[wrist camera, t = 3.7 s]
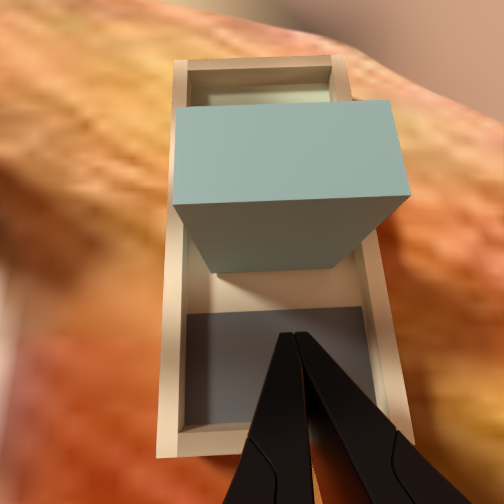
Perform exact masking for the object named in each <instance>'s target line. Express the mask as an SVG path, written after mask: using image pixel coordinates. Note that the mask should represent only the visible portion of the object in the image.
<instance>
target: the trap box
mask: <svg viewBox="0 0 504 504" xmlns="http://www.w3.org/2000/svg"><path fill="white" fill-rule="evenodd" d="M341 101H353V100H352V95H351V89H350V84H349V78H348V73H347V67H346V62H345V57H344V55H322V56H291V57H260V58H229V59H199V60H174V69H173V91H172V113H171V135H170V158H169V180H168V202H167V225H166V247H165V269H164V292H163V314H162V336H161V359H160V381H159V403H158V426H157V448H156V458H172V457H191V456H210V455H229V454H241V453H242V450H243V447H244V444H245V440H246V438H247V435H248V431H249V428H250V425H251V422H252V418H253V415H254V412H255V409H256V405H257V402H258V399H259V396H260V393H261V389H262V386H263V383H264V380H265V376H266V373H267V370H268V367H269V363H270V360H271V357H272V354H273V350H274V347H275V344H276V341H277V338H278V334H279V333H280V332H293V334H294V332H296V331H308V332H309V333H310V334H311V335H312V336H313V337H314V338H315V339H316V340H317V342H318V343H319V344H320V345H321V346H322V347H323V348H324V349H325V350H326V351H327V352H328V353H329V355H330V356H331V357H332V358H333V359H334V360H335V361H336V362H337V363H338V364H339V365H340V366H341V368H342V369H343V370H344V371H345V372H346V373H347V374H348V375H349V376H350V377H351V378H352V380H353V381H354V382H355V383H356V384H357V385H358V386H359V387H360V388H361V389H362V390H363V391H364V393H365V394H366V395H367V396H368V397H369V398H370V399H371V400H372V401H373V402H374V403H375V404H376V406H377V407H378V408H379V409H380V410H381V411H382V412H383V413H384V414H385V415H386V416H387V417H388V419H389V420H390V421H391V422H392V423H393V424H394V425H395V426H396V430H400V431H401V433H402V434H403V435H404V436H405V437H406V438H407V439H408V440H409V441H410V442H411V443H412V444H413V445H415V439H414V434H413V428H412V423H411V417H410V412H409V407H408V401H407V396H406V390H405V385H404V379H403V374H402V368H401V363H400V357H399V352H398V346H397V341H396V335H395V330H394V324H393V319H392V314H391V308H390V303H389V297H388V292H387V286H386V281H385V275H384V270H383V264H382V259H381V253H380V248H379V242H378V237H377V232H376V229H374V230H373V231H372V232H371V233H370V234H369V235H368V236H367V237H366V238H365V239H364V240H363V241H362V242H361V243H359V244H358V245H357V246H356V247H355V248H354V249H353V250H352V251H351V252H350V253H349V254H348V255H347V256H345V257H344V258H343V259H342V260H341V261H340V262H339V263H338V264H337V265H336V266H335V267H334V268H327V269H304V270H281V271H258V272H235V273H212V274H211V272H210V270H209V268H208V267H207V265H206V263H205V261H204V259H203V258H202V256H201V254H200V252H199V251H198V249H197V247H196V245H195V244H194V242H193V240H192V238H191V237H190V235H189V233H188V231H187V229H186V228H185V226H184V224H183V222H182V221H181V219H180V217H179V215H178V214H177V212H176V210H175V208H174V207H173V205H172V202H173V176H174V151H175V125H176V107H197V106H226V105H255V104H284V103H312V102H341Z"/></svg>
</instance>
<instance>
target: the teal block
mask: <svg viewBox="0 0 504 504" xmlns="http://www.w3.org/2000/svg"><path fill="white" fill-rule="evenodd" d="M410 196H411V191H410V187H409V183H408V178H407V174H406V170H405V165H404V161H403V157H402V152H401V148H400V143H399V139H398V135H397V130H396V126H395V122H394V117H393V113H392V109H391V104H390V100H370V101H341V102H312V103H284V104H255V105H226V106H197V107H176V125H175V151H174V176H173V202H172V205H173V207H174V208H175V210H176V212H177V214H178V215H179V217H180V219H181V221H182V222H183V224H184V226H185V228H186V229H187V231H188V233H189V235H190V237H191V238H192V240H193V242H194V244H195V245H196V247H197V249H198V251H199V252H200V254H201V256H202V258H203V259H204V261H205V263H206V265H207V267H208V268H209V270H210V272H211V274H212V273H235V272H258V271H281V270H304V269H327V268H334V267H335V266H336V265H337V264H338V263H339V262H340V261H341V260H342V259H343V258H344V257H345V256H347V255H348V254H349V253H350V252H351V251H352V250H353V249H354V248H355V247H356V246H357V245H358V244H359V243H361V242H362V241H363V240H364V239H365V238H366V237H367V236H368V235H369V234H370V233H371V232H372V231H373V230H374V229H376V228H377V227H378V226H379V225H380V224H381V223H382V222H383V221H384V220H385V219H386V218H387V217H388V216H389V215H391V214H392V213H393V212H394V211H395V210H396V209H397V208H398V207H399V206H400V205H401V204H402V203H403V202H404V201H406V200H407V199H408V198H409V197H410Z"/></svg>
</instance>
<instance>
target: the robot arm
mask: <svg viewBox="0 0 504 504" xmlns="http://www.w3.org/2000/svg"><path fill="white" fill-rule="evenodd" d="M310 454H311V455H310ZM311 458H312V462H313V466H314V470H315V474H316V478H317V482H318V486H319V490H320V494H321V498H322V502H323V504H473V503H472V502H471V501H470V500H468V499H467V498H466V497H465V496H464V495H463V494H462V493H461V492H460V491H459V490H458V489H457V488H456V487H455V486H454V485H452V484H451V483H450V482H449V481H448V480H447V479H446V478H445V477H444V476H443V475H442V474H441V473H440V472H439V471H438V470H437V469H436V468H435V467H434V466H433V465H432V464H431V463H430V462H429V461H428V460H427V459H426V458H425V457H424V456H423V455H422V454H421V453H420V452H419V451H418V450H417V449H416V448H415V447H414V445H413V444H412V443H411V442H410V441H409V440H408V439H407V438H406V437H405V436H404V435H403V434H402V433H401V431H400V430H396V426H395V425H394V424H393V423H392V422H391V421H390V420H389V419H388V417H387V416H386V415H385V414H384V413H383V412H382V411H381V410H380V409H379V408H378V407H377V406H376V404H375V403H374V402H373V401H372V400H371V399H370V398H369V397H368V396H367V395H366V394H365V393H364V391H363V390H362V389H361V388H360V387H359V386H358V385H357V384H356V383H355V382H354V381H353V380H352V378H351V377H350V376H349V375H348V374H347V373H346V372H345V371H344V370H343V369H342V368H341V366H340V365H339V364H338V363H337V362H336V361H335V360H334V359H333V358H332V357H331V356H330V355H329V353H328V352H327V351H326V350H325V349H324V348H323V347H322V346H321V345H320V344H319V343H318V342H317V340H316V339H315V338H314V337H313V336H312V335H311V334H310V333H309V332H308V331H296V332H294V334H293V332H280V333H279V334H278V338H277V341H276V344H275V347H274V350H273V354H272V357H271V360H270V363H269V367H268V370H267V373H266V376H265V380H264V383H263V386H262V389H261V393H260V396H259V399H258V402H257V405H256V409H255V412H254V415H253V418H252V422H251V425H250V428H249V431H248V435H247V438H246V440H245V444H244V447H243V450H242V453H241V456H240V459H239V462H238V465H237V468H236V471H235V473H234V476H233V479H232V481H231V484H230V486H229V489H228V491H227V494H226V496H225V498H224V501H223V503H222V504H315V502H314V490H313V478H312V466H311Z"/></svg>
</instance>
